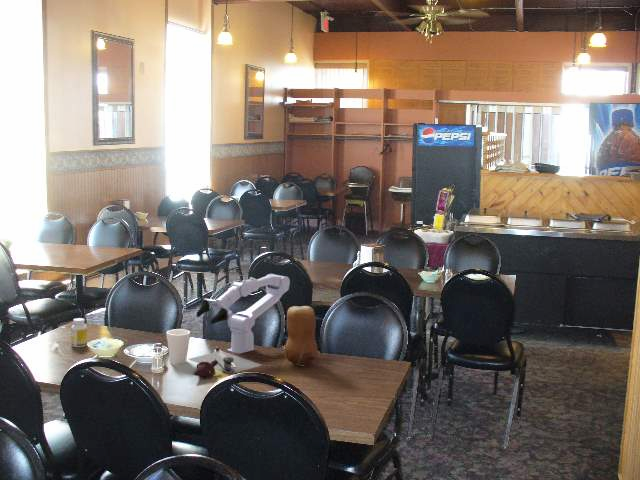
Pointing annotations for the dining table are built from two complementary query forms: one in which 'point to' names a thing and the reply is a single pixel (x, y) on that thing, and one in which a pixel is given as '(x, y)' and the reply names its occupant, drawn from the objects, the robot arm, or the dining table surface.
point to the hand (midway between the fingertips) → (204, 318)
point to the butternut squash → (301, 335)
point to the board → (238, 362)
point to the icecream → (205, 369)
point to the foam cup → (178, 345)
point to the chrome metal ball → (228, 368)
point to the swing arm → (222, 357)
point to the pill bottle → (79, 333)
